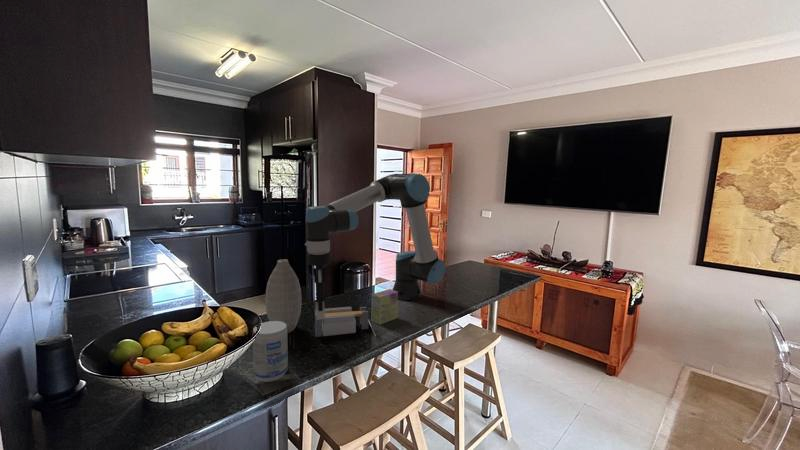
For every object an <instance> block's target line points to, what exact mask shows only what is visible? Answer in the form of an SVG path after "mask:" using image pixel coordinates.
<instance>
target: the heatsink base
mask: <svg viewBox="0 0 800 450" xmlns="http://www.w3.org/2000/svg"><path fill="white" fill-rule="evenodd" d="M362 310H365V311H362ZM351 311H353V308H352V306H344V307H343V306H342V307H331V308H324V312H325V313H337V312H351ZM359 311H362V316H359V325H360V326H361V330H368V329H369V326H370V328H371V331H372V333H373V335H374V337H375V338H377V334H376V332H375V330H374V328H373V326H372V323H371V321H370V320H369V311H368V310H367V306H360V307H359ZM356 327H357V320H356V318H355V317H354V314H346V315H335V316H325V319H324V320H323V321H322V337H328V336H337V335H347V334H355V333H356V332H357V328H356Z"/></svg>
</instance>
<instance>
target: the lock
mask: <svg viewBox="0 0 800 450" xmlns="http://www.w3.org/2000/svg"><path fill="white" fill-rule="evenodd" d="M314 319H315V321H314V324H315V327H314V328H315V329H314V332H315V335H314V336H315V338H320V337H323V330H322V319H320V320H317V316H316V309H314Z"/></svg>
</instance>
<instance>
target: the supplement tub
mask: <svg viewBox="0 0 800 450" xmlns="http://www.w3.org/2000/svg"><path fill="white" fill-rule="evenodd" d="M260 324H261V329H260V332H259V334H258V335H257V337H256V338H255V340H254V342H253V341H252V353H253V354H252V358H253V360H252V361H253V364H252V366H253V367H252V368H253V377H254V379H255V380H256V381H258V382H262V383H269V382H270V383H271V382H275V381H278V380H280V379H282V378H283V377H284V376H286V373H287V372H288V369H289V367H288V366H289V363H288V362H289V359H288V357H289V356H288V353H289V351H288V350H289V349H288V333H287V325H286V324H285V323H284V322H281V321H269V320H268V321H264V322H262V323H260ZM256 326H257V325H255V326H254V327H253V329H252V334H253V333H256V331H257V327H256Z"/></svg>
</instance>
